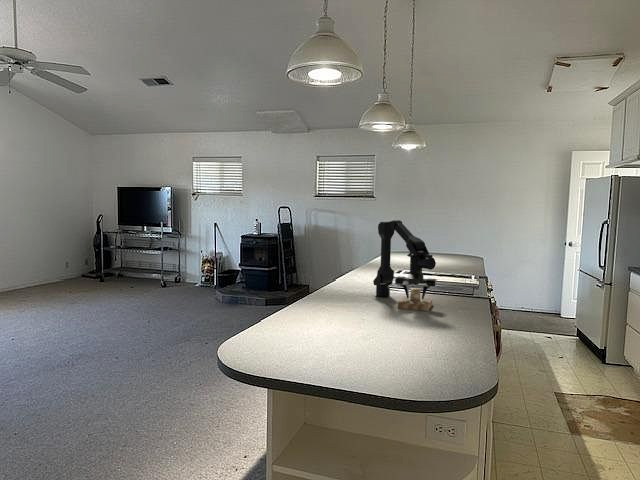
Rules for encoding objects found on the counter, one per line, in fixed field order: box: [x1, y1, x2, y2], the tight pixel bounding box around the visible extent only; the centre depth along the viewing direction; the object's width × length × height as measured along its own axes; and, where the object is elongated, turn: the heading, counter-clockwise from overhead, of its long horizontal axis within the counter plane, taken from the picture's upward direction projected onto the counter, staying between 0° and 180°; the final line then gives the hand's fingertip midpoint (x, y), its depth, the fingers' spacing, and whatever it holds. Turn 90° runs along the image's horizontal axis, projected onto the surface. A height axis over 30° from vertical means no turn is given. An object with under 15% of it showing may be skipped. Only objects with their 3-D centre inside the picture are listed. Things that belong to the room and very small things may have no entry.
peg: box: [409, 287, 421, 302], centre depth 215 cm, size 5×5×8 cm
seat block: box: [397, 295, 433, 312], centre depth 216 cm, size 14×14×3 cm
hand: (415, 299), depth 216 cm, fingers open, 7 cm apart
